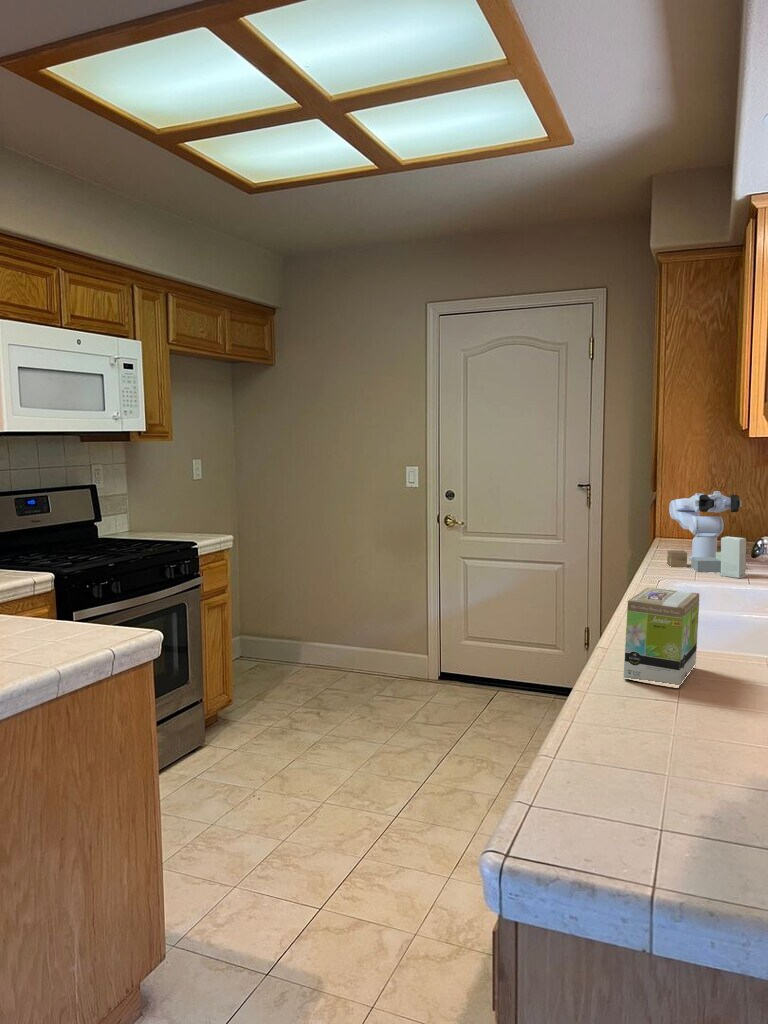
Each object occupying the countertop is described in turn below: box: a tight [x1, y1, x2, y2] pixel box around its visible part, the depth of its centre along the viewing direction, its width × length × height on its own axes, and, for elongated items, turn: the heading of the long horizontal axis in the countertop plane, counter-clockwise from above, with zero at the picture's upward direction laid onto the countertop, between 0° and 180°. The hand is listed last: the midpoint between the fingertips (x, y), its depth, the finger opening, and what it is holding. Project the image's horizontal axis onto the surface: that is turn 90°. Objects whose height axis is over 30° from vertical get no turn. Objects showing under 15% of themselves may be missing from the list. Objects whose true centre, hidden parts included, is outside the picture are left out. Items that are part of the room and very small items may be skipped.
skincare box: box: [720, 535, 747, 579], centre depth 231 cm, size 6×4×12 cm
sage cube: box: [716, 551, 721, 561], centre depth 246 cm, size 5×5×5 cm
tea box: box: [623, 587, 700, 685], centre depth 138 cm, size 15×10×15 cm, turn 148°
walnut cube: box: [666, 549, 688, 568], centre depth 250 cm, size 5×5×5 cm
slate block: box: [690, 556, 721, 573], centre depth 242 cm, size 7×7×4 cm
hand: (725, 503), depth 239 cm, fingers open, 7 cm apart
